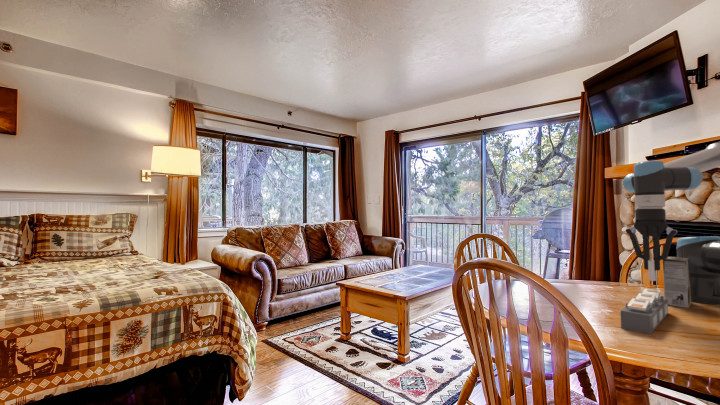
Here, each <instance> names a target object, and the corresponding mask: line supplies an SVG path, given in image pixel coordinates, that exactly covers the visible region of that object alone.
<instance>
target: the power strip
mask: <svg viewBox="0 0 720 405" xmlns="http://www.w3.org/2000/svg"><path fill="white" fill-rule="evenodd" d="M634 298H635V299H636V297H634ZM628 304H629V302H625V307H623V308H622V309H621V310H620V328H621V329H623V330H629V331H632V332H633V331H634V332H636V333H637V332H638V333H642V334H643V333H644V334H648V335H651V334H652V333H653V332H654V331H655V330H656V329H657V328H658V326H659V325H660V324H661V322H663V320H664V319H665V318H666V317H667V316H668V314H669V305H668V298H665V297H664V295H660V297H659V299H658V300H655V301H654V303H653V305H652V306H651V305H649V306H648V309H647V310H646V311H641V310H635V309H629V308H628V307H627V305H628Z"/></svg>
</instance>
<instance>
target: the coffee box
mask: <svg viewBox="0 0 720 405" xmlns="http://www.w3.org/2000/svg"><path fill="white" fill-rule="evenodd" d="M662 270H663V293H664V294H663V296H664V297H665V298H668V306H674V307H680V308H687V309H689V308H690V306H691V303H692V301H691V289H690V269H689V258H681V257H677V256H669V255H668V257H667V258H666V259H663V260H662Z"/></svg>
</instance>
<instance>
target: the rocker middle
mask: <svg viewBox="0 0 720 405" xmlns="http://www.w3.org/2000/svg"><path fill="white" fill-rule="evenodd" d="M635 298H636V299H642V300H649V301H650V304H649V305H651V306H652V305H653V303H654V301H655V299H656V295H650V294H643V292H638V294H637V295H636V297H635Z"/></svg>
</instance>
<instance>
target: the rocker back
mask: <svg viewBox="0 0 720 405" xmlns="http://www.w3.org/2000/svg"><path fill="white" fill-rule="evenodd" d="M642 293H643V294H650V295H656V299H655V300H658V299H659V297H660V296H661V294H662V290H657V289H650V288H644V289H643V291H642Z"/></svg>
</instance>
